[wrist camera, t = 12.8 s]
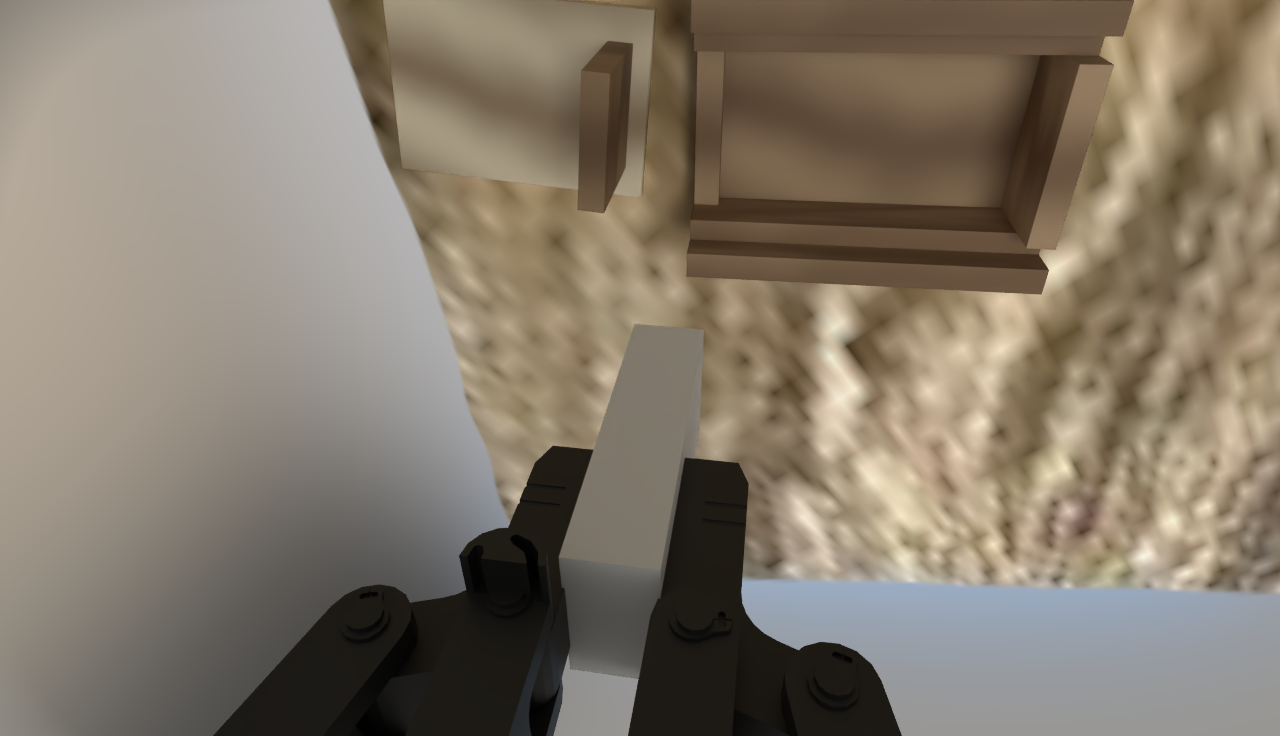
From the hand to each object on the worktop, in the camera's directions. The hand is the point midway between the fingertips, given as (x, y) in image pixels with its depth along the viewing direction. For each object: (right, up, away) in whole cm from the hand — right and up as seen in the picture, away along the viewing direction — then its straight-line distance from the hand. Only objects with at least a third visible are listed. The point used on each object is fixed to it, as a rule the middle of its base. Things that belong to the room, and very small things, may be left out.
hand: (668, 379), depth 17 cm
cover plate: (-7, +14, +21) cm, 27 cm away
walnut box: (+10, +12, +19) cm, 25 cm away
